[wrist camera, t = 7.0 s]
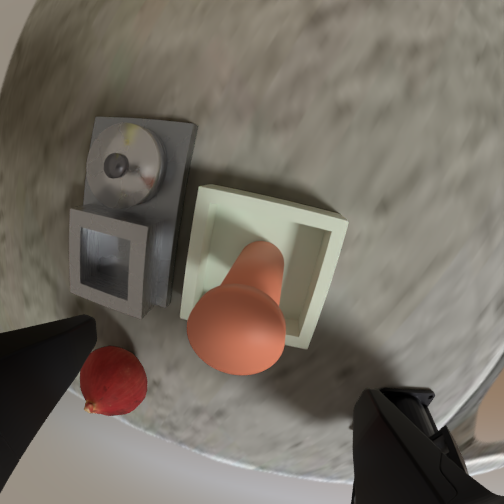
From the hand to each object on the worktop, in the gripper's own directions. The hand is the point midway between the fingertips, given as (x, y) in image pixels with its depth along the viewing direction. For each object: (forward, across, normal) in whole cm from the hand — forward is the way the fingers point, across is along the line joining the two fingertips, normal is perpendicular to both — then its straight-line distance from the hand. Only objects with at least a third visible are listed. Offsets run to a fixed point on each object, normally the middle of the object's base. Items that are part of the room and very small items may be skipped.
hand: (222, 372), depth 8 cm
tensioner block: (+12, +10, -1) cm, 16 cm away
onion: (+12, +9, +12) cm, 19 cm away
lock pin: (+11, 0, 0) cm, 11 cm away
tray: (+12, 0, 0) cm, 12 cm away
